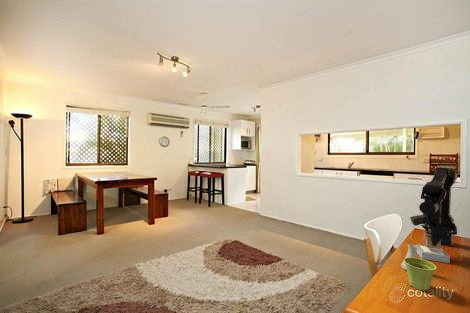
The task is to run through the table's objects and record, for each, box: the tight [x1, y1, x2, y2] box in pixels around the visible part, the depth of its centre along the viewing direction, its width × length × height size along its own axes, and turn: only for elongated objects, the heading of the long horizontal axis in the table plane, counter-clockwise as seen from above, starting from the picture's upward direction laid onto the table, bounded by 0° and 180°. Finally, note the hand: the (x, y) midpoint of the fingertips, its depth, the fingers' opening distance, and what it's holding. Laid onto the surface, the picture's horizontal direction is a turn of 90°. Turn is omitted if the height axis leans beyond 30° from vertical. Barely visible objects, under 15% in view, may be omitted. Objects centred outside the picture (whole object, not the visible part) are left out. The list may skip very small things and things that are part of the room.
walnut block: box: [423, 233, 442, 250], centre depth 110 cm, size 5×5×5 cm
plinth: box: [415, 244, 451, 264], centre depth 111 cm, size 10×10×3 cm
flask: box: [400, 244, 418, 272], centre depth 98 cm, size 7×7×10 cm
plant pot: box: [403, 257, 437, 292], centre depth 86 cm, size 9×9×9 cm
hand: (432, 244), depth 110 cm, fingers closed on walnut block, 5 cm apart
